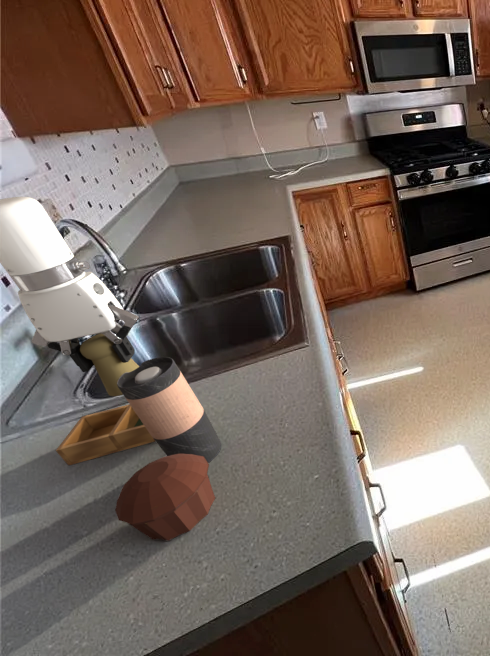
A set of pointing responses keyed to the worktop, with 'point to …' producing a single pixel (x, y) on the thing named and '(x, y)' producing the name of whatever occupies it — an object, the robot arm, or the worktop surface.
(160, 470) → the muffin
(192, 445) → the travel mug
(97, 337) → the cork
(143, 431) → the tray
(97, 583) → the worktop surface
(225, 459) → the worktop surface
